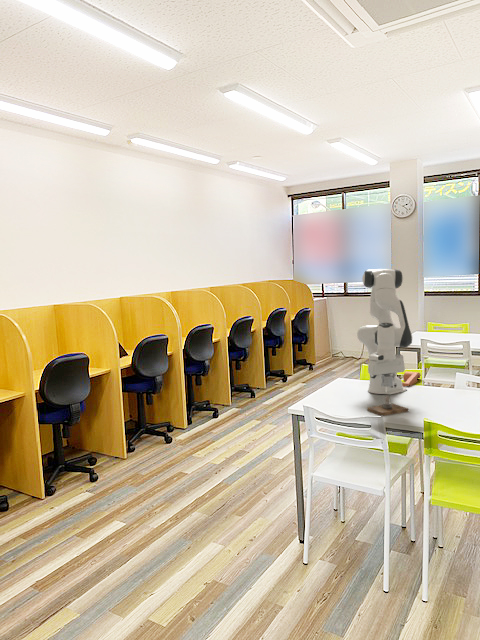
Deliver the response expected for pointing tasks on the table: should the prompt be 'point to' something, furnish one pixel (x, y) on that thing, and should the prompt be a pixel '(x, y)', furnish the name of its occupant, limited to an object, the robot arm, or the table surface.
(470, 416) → the table surface
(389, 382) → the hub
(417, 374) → the crank
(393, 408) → the stand
